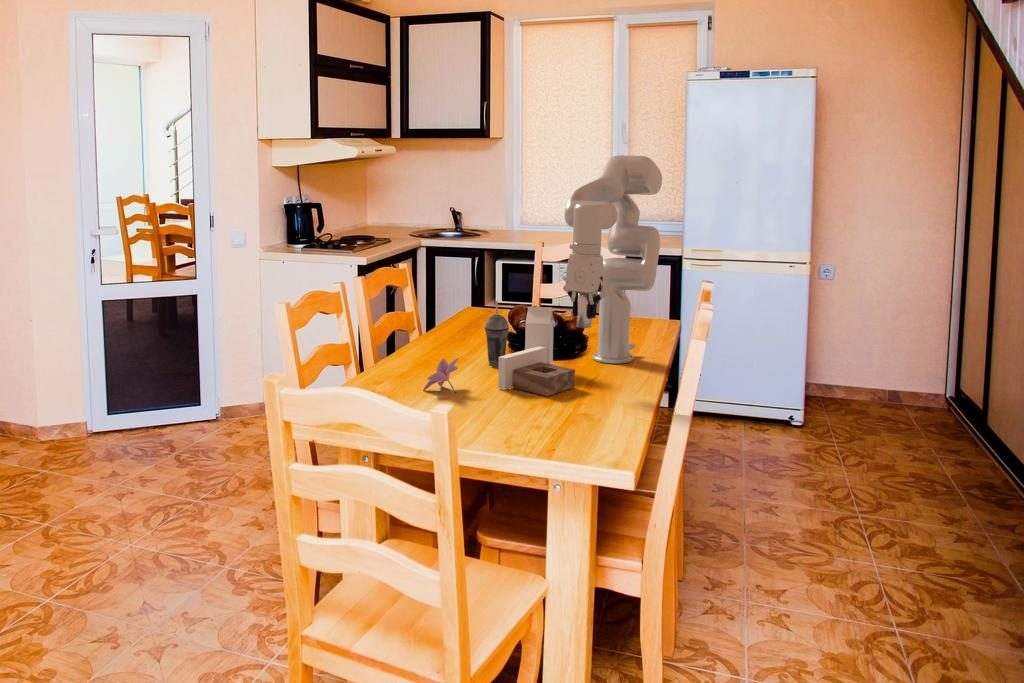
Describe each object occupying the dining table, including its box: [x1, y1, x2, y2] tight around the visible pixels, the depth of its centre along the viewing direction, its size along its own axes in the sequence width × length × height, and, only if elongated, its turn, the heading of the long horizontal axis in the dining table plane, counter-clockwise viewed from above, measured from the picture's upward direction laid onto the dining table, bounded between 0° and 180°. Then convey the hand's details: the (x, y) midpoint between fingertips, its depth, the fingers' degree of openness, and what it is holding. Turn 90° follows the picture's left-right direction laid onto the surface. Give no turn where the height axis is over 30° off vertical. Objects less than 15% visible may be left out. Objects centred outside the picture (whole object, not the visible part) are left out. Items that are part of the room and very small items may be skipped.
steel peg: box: [576, 292, 593, 329], centre depth 242 cm, size 4×4×10 cm
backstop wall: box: [497, 346, 547, 391], centre depth 248 cm, size 18×2×9 cm, turn 140°
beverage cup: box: [484, 300, 510, 368], centre depth 266 cm, size 7×7×20 cm
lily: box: [422, 357, 460, 394], centre depth 240 cm, size 12×12×10 cm
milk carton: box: [524, 306, 555, 365], centre depth 261 cm, size 7×7×19 cm
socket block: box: [512, 362, 576, 397], centre depth 244 cm, size 12×12×5 cm
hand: (584, 316), depth 243 cm, fingers closed on steel peg, 4 cm apart
